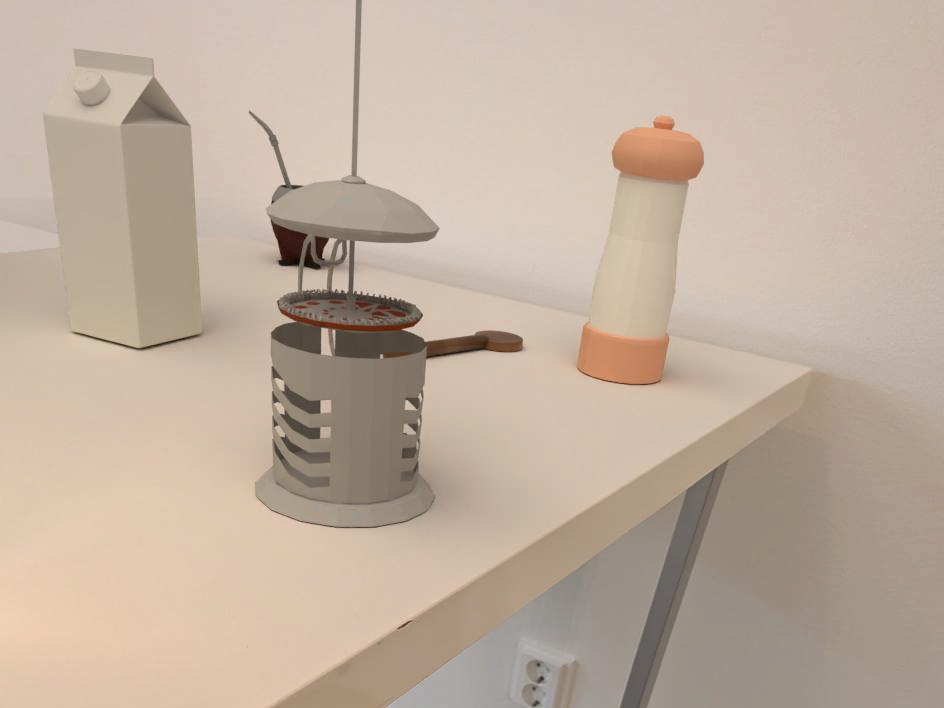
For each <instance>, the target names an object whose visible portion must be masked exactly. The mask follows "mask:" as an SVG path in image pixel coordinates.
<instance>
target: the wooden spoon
mask: <svg viewBox="0 0 944 708" xmlns="http://www.w3.org/2000/svg"><path fill="white" fill-rule="evenodd" d="M425 343H426V345H427V353H426V358H429V357H435V356H441V355H448V354H453V353H454V354H455V353H461V352H466V351H473V350H479V349H480V350H481V349H484V350H489V351H493V352H503V353H510V352H511V353H512V352H518V351H521V350H522V349H523V347H524V346H523V345H524V339H523V337H522V336H520V335H518V334H515V333H513V332H507V331H502V330H479V331H476V332H475V333H474V334H472V335H471V334H470V335H463V336H459V337H458V336H455V337H450V338H443V339H442V338H441V339H435V340H427V341H425ZM411 354H412V353H411V352H401V351H392V352H389V353H385V354H381V355H382V358H395V357H401V356H407V355H411Z"/></svg>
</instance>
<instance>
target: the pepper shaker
mask: <svg viewBox="0 0 944 708" xmlns="http://www.w3.org/2000/svg"><path fill="white" fill-rule="evenodd" d="M652 124H653V127H648V126H647V127H645V126H643V127H641V126H640V127H639V126H635V127H632V128H631V129H629V130H626V131H624V132H622V134H620V135H619V137H618V138H617V139H616V141H615V143H614V145H613V148H612V150H611V158H612V164H613V167H614V169H616V170H618V171H619V172H620V173H619V175H618V179H617V184H616V190H615V197H614V201H613V207H612V213H611V219H610V224H609V225H610V226H609V231H608V235H607V238H606V241H605V245H604V247H603V251H602V254H601V258H600V260H599V264H598V267H597V271H596V274H595V277H594V279H593V286H592V295H591V302H590V308H589V310H590V311H589V316H588V317H589V318H588V320H587V322H585V323H584V324H583V326H582V331H581V339H580V345H579V350H578V358H577V363H576V364H577V365H576V366H577V367H576V368H577V369H578V371H580V372H582V373H583V374H585V375H588V376H590V377H592V378H595V379H600V380H604V381H609V382H613V383H619V384H629V385H648V384H655V383H657V382H659V381H661V379H662V377H663V372H664V367H665V362H666V357H667V353H668V349H669V348H668V347H669V343H670V335H669V334H668V332H667V329H668V324H669V320H670V316H671V313H672V309H673V308H672V307H673V304H674V303H673V302H674V298H675V295H676V286H677V285H676V283H677V282H676V281H677V266H678V265H677V264H678V248H679V247H678V245H679V238H680V232H681V227H682V222H683V218H684V211H685V207H686V201H687V196H688V190H689V185H690V183H689V181H690V180H693V179H696V178H697V177H698V176H699V174H700V173H701V171H702V169H703V167H704V165H705V153H704V152H705V151H704V149H703V147H702V145H701V142H700V141H699V140H698V139H697V138H695V137H694V136H693V135H692V134H690V133H687V132H684V131H679V130H674V126H675V125H676V123H675V119H674V118H672V117H671V116H668V115H658V116H656V117H655V118H654V119H653V121H652Z"/></svg>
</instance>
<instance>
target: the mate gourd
mask: <svg viewBox="0 0 944 708" xmlns="http://www.w3.org/2000/svg"><path fill="white" fill-rule="evenodd" d="M248 114H249V115H250V116H251V117H252V118H253V119H254V120H255V121H256V122H257V124H258V125H259V126H260V127H261V128H262V129H263V130H264V131H265V133H266V134H267V135H268V141H269V143H270V145H271V147H273V150H274V154H275V157H276V160H277V163H278V165H279V166H278V167H279V169H280V172H281V175H282V179H283V181H284V184H280V185H279V186H278V187H277V188H276V189H275V191H274V193H273V195H272V196H271V202H270V205H271V204H273V203H274V202H275V201H277V200H278V199H280V198H281V197H282V196H284V195H285V194H287V193H288V192H289V191H292V190H295V189H297V188H300V187H303V186H304V185H301V184H291V181H290V177H289V175H288V172H287V168H286V166H285V163H284V159H283V156H282V153H281V150H280V147H279V144H280V143H279V140H278V139H277V136H276V134H274V132H273V130H271V128H270V127H269V126H268V124H267V123H266V122H265V121H263V120H262V119H261V118H260V117H258V116H257V115H256V114H255V113H254V112H253V111H251V110H250V109H249V110H248ZM270 224H271V229H272V232H273V234H274V237H275V239H276V241H277V246H278V250H279V255H280V259H278V265H279V264H280V265H279V266H294V265H293V264H300V259H301V254H302V249H303V243H304V240H305V239H306V237H307V236H308V234H305V233H301V232H298V231H294V230H291V229H287V228H285V227H282V226H280V225H277V224H275V223H273V221H272V220H271V219H270ZM329 241H330V238H326V237H319V236H315V242H316V254H317V257H318V258H319V259H321V260H323V261H326V258H324V257H323V254H324V249H325V247H326V246H327V244H328V242H329ZM304 265H306V266H305V267H308V266H309V267H308V268H311V267H313V268H312V269H314V268H322V266H321V265H319V264H317V263H316V262H314V260H313V258H312V255H311V241H310V242H309V243H308V246H307V250H306V255H305V259H304Z"/></svg>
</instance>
